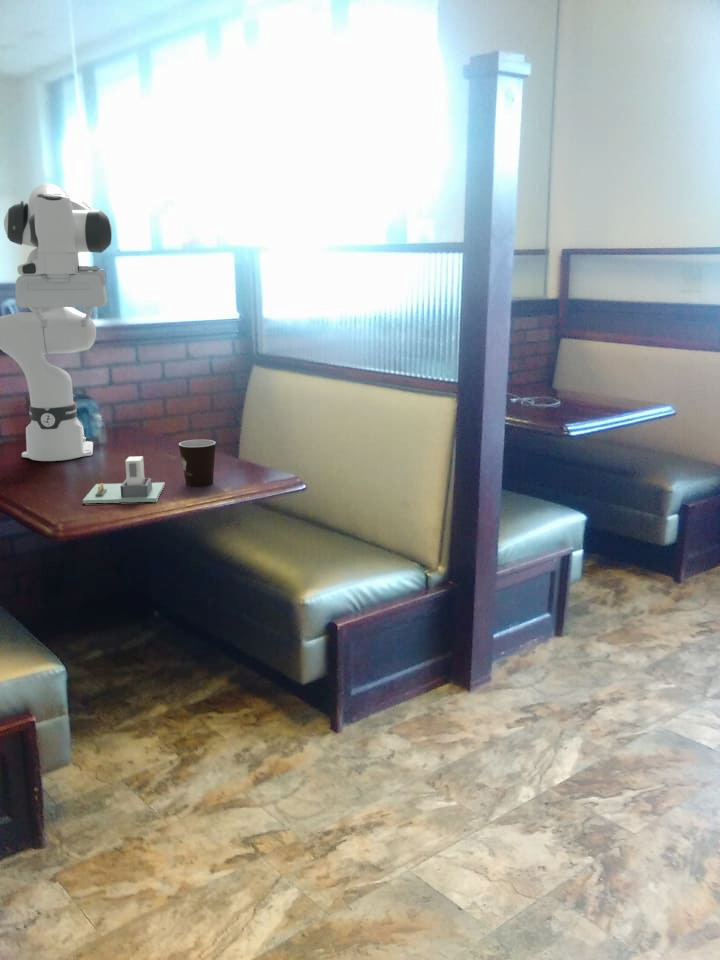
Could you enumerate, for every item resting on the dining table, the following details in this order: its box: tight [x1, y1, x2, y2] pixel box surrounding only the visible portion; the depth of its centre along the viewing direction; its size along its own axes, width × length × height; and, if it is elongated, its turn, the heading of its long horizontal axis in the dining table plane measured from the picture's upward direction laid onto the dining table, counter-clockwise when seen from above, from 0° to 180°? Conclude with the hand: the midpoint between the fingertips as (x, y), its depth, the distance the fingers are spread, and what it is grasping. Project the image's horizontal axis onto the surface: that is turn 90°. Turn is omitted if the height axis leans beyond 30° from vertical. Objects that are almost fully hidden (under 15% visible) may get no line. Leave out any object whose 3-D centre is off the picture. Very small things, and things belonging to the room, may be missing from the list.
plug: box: [124, 455, 145, 486], centre depth 197 cm, size 5×3×8 cm, turn 5°
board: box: [82, 477, 166, 504], centre depth 200 cm, size 14×16×4 cm
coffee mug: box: [178, 439, 217, 488], centre depth 210 cm, size 12×9×10 cm
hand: (64, 327), depth 204 cm, fingers open, 8 cm apart
